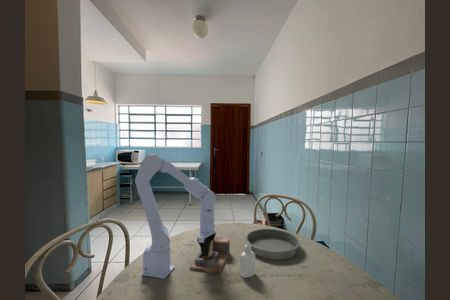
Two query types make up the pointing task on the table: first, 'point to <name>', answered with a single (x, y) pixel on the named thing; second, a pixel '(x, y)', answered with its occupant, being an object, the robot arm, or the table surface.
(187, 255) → the table surface
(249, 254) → the eye dropper bottle
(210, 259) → the peg
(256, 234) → the cake pan
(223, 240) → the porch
